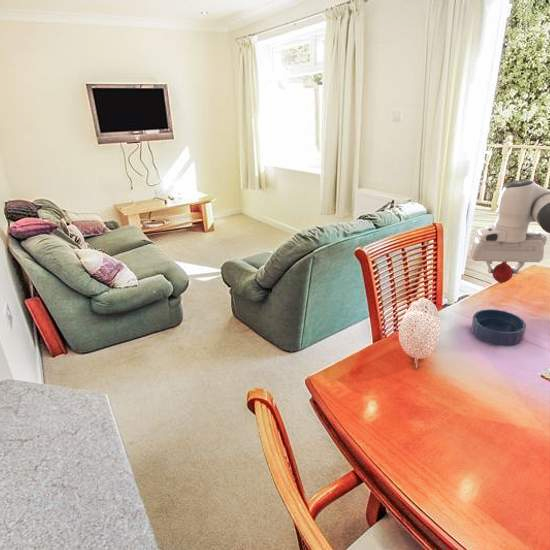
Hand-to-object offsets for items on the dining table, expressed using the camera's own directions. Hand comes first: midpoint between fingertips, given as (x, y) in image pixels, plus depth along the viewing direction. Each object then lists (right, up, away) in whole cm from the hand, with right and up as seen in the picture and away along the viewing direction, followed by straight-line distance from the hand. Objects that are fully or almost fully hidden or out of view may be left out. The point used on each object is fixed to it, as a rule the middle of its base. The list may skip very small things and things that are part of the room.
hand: (502, 273), depth 123 cm
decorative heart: (-33, -25, -13) cm, 44 cm away
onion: (0, -4, +2) cm, 4 cm away
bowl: (-5, -19, -5) cm, 21 cm away
